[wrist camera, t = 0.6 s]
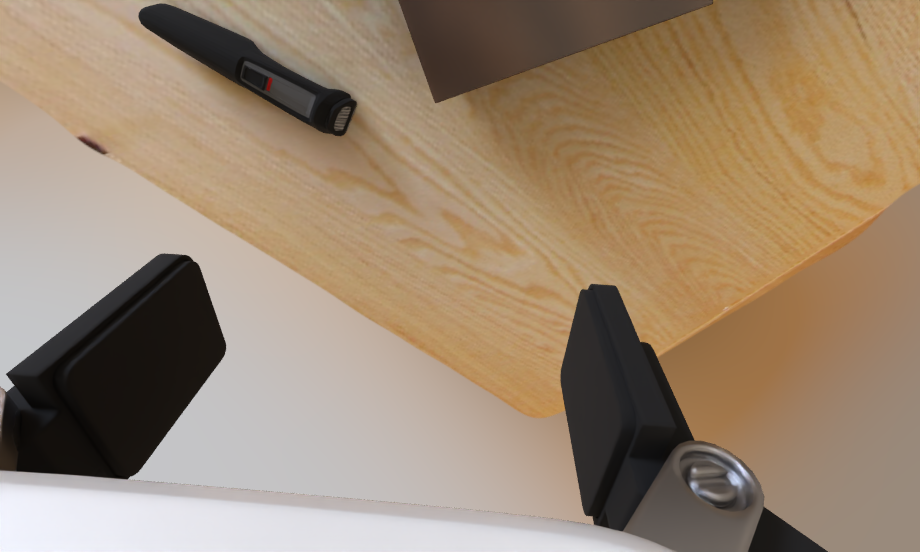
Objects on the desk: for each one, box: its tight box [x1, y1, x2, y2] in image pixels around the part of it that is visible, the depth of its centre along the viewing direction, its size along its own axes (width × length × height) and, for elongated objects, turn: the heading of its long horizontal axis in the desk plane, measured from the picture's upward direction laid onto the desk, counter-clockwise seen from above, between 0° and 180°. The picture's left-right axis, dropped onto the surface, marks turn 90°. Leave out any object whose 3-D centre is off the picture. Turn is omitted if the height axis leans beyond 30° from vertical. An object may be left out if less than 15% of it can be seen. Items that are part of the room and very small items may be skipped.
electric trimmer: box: [139, 4, 357, 136], centre depth 33 cm, size 4×16×3 cm, turn 61°
